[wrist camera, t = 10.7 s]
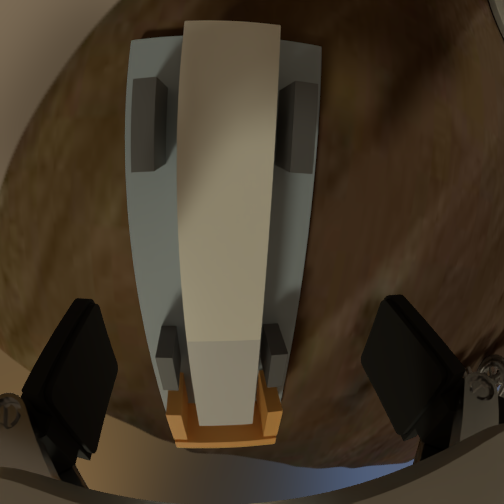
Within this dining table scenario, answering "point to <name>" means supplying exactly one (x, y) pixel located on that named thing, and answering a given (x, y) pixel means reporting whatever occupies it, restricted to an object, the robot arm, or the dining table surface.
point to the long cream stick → (225, 206)
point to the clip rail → (166, 231)
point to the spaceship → (499, 378)
